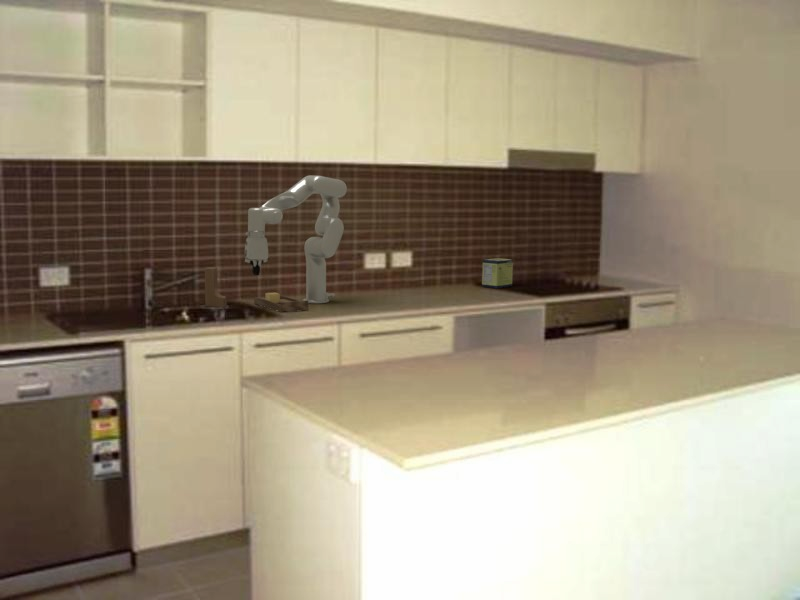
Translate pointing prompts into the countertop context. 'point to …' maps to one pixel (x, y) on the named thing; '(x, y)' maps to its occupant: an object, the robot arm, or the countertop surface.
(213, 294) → the wooden block
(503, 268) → the protein box
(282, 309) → the trap board
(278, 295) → the block
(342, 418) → the countertop surface
